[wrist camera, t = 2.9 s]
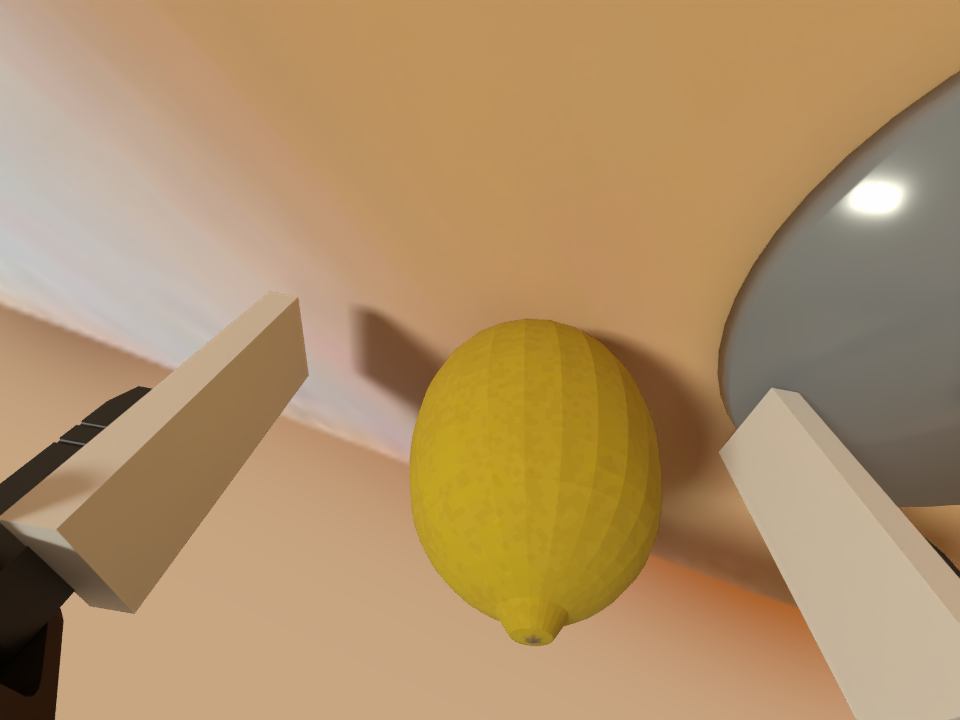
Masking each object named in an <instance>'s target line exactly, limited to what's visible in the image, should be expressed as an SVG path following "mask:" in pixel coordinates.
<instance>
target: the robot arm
mask: <svg viewBox="0 0 960 720" xmlns="http://www.w3.org/2000/svg"><path fill="white" fill-rule="evenodd" d="M308 376H309V374H308V367H307V359H306V352H305V344H304V337H303V329H302V322H301V314H300V307H299V299H298V297H297V296H292V295H286V294H281V293H276V292H271V291H270V292H268V293H267V294H266V295H265V296H264V297H262V298H261V299H260V300H259V301H258V302H256V303H255V304H254V305H253V306H252V307H250V308H249V309H248V310H247V311H246V312H244V313H243V314H242V315H241V316H240V317H238V318H237V319H236V320H235V321H234V322H232V323H231V324H230V325H229V326H228V327H226V328H225V329H224V330H223V331H222V332H220V333H219V334H218V335H217V336H216V337H214V338H213V339H212V340H211V341H210V342H208V343H207V344H206V345H205V346H204V347H202V348H201V349H200V350H199V351H198V352H196V353H195V354H194V355H193V356H192V357H190V358H189V359H188V360H187V361H186V362H184V363H183V364H182V365H181V366H180V367H178V368H177V369H176V370H175V371H174V372H172V373H171V374H170V375H169V376H168V377H166V378H165V379H164V380H163V381H162V382H160V383H159V384H158V385H157V386H156V387H154V388H153V389H151V388H146V387H140V386H138V387H136V388H134V389H132V390H130V391H128V392H126V393H123V394H122V395H119V396H117V397H115V398H113V399H111V400H109V401H107V402H106V403H104V404H103V405H102V406H100V407H99V408H98V409H97V410H95V411H94V412H93V413H91V414H90V415H89V416H87V417H86V418H85V419H84V420H82V423H81V425H76V426H74V427H73V428H72V429H71V430H69V431H68V432H67V433H65V434H64V435H63V436H61V437H60V441H59V442H58V443H55V442H54V443H52V444H51V445H50V446H49V447H47V448H46V449H45V450H43V451H42V452H41V453H39V454H38V455H37V456H36V457H34V458H33V459H32V460H31V461H29V462H28V463H26V464H25V465H24V466H23V467H21V468H20V469H19V470H17V471H16V472H15V473H14V474H12V475H11V476H10V477H8V478H7V479H6V480H5V481H3V482H2V483H1V484H0V720H55V711H56V699H57V689H58V688H57V687H58V677H59V666H60V655H61V643H62V632H63V617H62V612H61V609H60V607H61V606H62V605H63V604H64V602H65V601H66V600H67V599H68V598H69V597H70V596H71V594H72V593H73V592H75V593H77V594H78V595H79V596H80V597H81V598H82V599H83V600H84V601H85V602H86V603H87V604H88V605H89V606H93V607H98V608H104V609H110V610H115V611H121V612H127V613H133V614H135V612H136V611H137V610H138V608H139V607H140V606H141V604H142V603H143V601H144V600H145V599H146V597H147V596H148V595H149V593H150V592H151V590H152V589H153V588H154V586H155V585H156V584H157V582H158V581H159V579H160V578H161V577H162V575H163V574H164V573H165V571H166V570H167V569H168V567H169V566H170V564H171V563H172V561H173V560H174V559H175V557H176V556H177V555H178V553H179V552H180V551H181V549H182V548H183V546H184V545H185V544H186V543H187V541H188V540H189V538H190V537H191V536H192V534H193V533H194V532H195V530H196V529H197V527H198V526H199V525H200V523H201V522H202V521H203V519H204V518H205V517H206V515H207V514H208V512H209V511H210V509H211V508H212V507H213V506H214V504H215V503H216V501H217V500H218V499H219V497H220V496H221V495H222V493H223V492H224V490H225V489H226V488H227V486H228V485H229V484H230V482H231V481H232V480H233V478H234V477H235V475H236V474H237V473H238V471H239V470H240V468H241V467H242V466H243V464H244V463H245V462H246V460H247V459H248V458H249V456H250V455H251V454H252V452H253V451H254V449H255V448H256V447H257V445H258V444H259V443H260V441H261V440H262V438H263V437H264V436H265V434H266V433H267V432H268V430H269V429H270V428H271V426H272V425H273V423H274V422H275V421H276V419H277V418H278V417H279V415H280V414H281V412H282V411H283V410H284V408H285V407H286V406H287V404H288V403H289V402H290V400H291V399H292V397H293V396H294V395H295V393H296V392H297V391H298V389H299V388H300V386H301V385H302V384H303V382H304V381H305V380H306V378H307V377H308ZM719 454H720V456H721V458H722V460H723V462H724V464H725V466H726V468H727V470H728V472H729V474H730V476H731V477H732V479H733V481H734V483H735V485H736V487H737V489H738V491H739V493H740V495H741V497H742V499H743V501H744V503H745V505H746V507H747V509H748V510H749V512H750V514H751V516H752V518H753V520H754V522H755V524H756V526H757V528H758V530H759V532H760V534H761V536H762V538H763V540H764V542H765V543H766V545H767V547H768V549H769V551H770V553H771V555H772V557H773V559H774V561H775V563H776V565H777V567H778V569H779V571H780V573H781V575H782V576H783V578H784V580H785V582H786V584H787V586H788V588H789V590H790V592H791V594H792V596H793V598H794V600H795V602H796V604H797V606H798V608H799V609H800V611H801V613H802V615H803V617H804V619H805V621H806V623H807V625H808V627H809V629H810V631H811V633H812V635H813V636H814V639H815V641H816V642H817V644H818V646H819V648H820V650H821V652H822V654H823V656H824V658H825V660H826V662H827V664H828V666H829V668H830V669H831V672H832V673H833V675H834V677H835V679H836V681H837V683H838V685H839V687H840V689H841V691H842V693H843V695H844V697H845V699H846V701H847V703H848V705H849V707H850V708H851V710H852V712H853V714H854V716H855V718H856V720H960V571H959V570H958V569H957V568H956V567H955V566H954V565H953V563H952V562H951V561H950V560H949V559H948V558H947V557H946V555H945V554H944V553H942V552H941V551H940V550H939V549H938V548H937V547H935V546H934V545H933V544H932V543H931V542H929V541H928V540H927V539H926V538H925V537H924V536H922V535H921V533H920V532H919V531H918V530H917V529H916V528H915V526H914V525H913V524H912V523H911V522H910V521H909V520H908V518H907V517H906V516H905V515H904V514H903V513H902V511H901V510H900V509H899V508H898V507H897V506H896V505H895V503H894V502H893V501H892V500H891V499H890V498H889V496H888V495H887V494H886V493H885V492H884V491H883V490H882V488H881V487H880V486H879V485H878V484H877V483H876V481H875V480H874V479H873V478H872V477H871V476H870V475H869V473H868V472H867V471H866V470H865V469H864V468H863V466H862V465H861V464H860V463H859V462H858V461H857V460H856V458H855V457H854V456H853V455H852V454H851V453H850V451H849V450H848V449H847V448H846V447H845V446H844V445H843V443H842V442H841V441H840V440H839V439H838V438H837V437H836V435H835V434H834V433H833V432H832V431H831V430H830V428H829V427H828V426H827V425H826V424H825V423H824V422H823V420H822V419H821V418H820V417H819V416H818V415H817V413H816V412H815V411H814V410H813V409H812V408H811V407H810V405H809V404H808V403H807V402H806V401H805V400H804V398H803V397H802V396H801V395H800V394H799V393H797V392H792V391H787V390H782V389H777V388H771V389H770V390H769V391H768V393H767V394H766V395H765V396H764V397H763V399H762V400H761V401H760V402H759V404H758V405H757V406H756V407H755V408H754V410H753V411H752V412H751V413H750V415H749V416H748V417H747V418H746V419H745V421H744V422H743V423H742V424H741V426H740V427H739V428H738V429H737V430H736V432H735V433H734V434H733V435H732V437H731V438H730V439H729V440H728V441H727V443H726V444H725V445H724V446H723V447H722V449H721V450H720V451H719Z"/></svg>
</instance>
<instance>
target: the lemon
mask: <svg viewBox="0 0 960 720" xmlns="http://www.w3.org/2000/svg"><path fill="white" fill-rule="evenodd" d="M410 490H411V506H412V514H413V519H414V525H415V528H416V531H417V534H418V536H419V539H420V542H421V544H422V546H423V548H424V550H425V552H426V554H427V556H428V558H429V559H430V561H431V563H432V565H433V566H434V568H435V570H436V571H437V572H438V573H439V574H440V576H441V577H442V578H443V580H444V581H445V582H446V583H447V584H448V585H449V586H450V587H451V588H452V589H453V590H454V591H455V592H456V593H457V594H458V595H459V596H460V597H461V598H462V599H463V600H465V601H466V602H467V603H468V604H469V605H471V606H473V607H474V608H476V609H477V610H479V611H480V612H482V613H484V614H486V615H488V616H490V617H492V618H494V619H496V620H499V621H500V622H501V623H502V625H503V627H504V628H505V630H506V631H507V633H508V634H509V636H510V637H511V639H512V640H514V641H515V642H518V643H520V644H524V645H530V646H541V645H547V644H549V643H551V642H552V641H553V640H554V639H555V637H556V636H557V635H558V633H559V632H560V630H561V629H562V627H563V626H566V625H570V624H573V623H576V622H579V621H581V620H584V619H587V618H589V617H591V616H593V615H595V614H597V613H598V612H600V611H601V610H603V609H604V608H606V607H607V606H609V605H610V604H611V603H613V602H614V601H615V600H616V599H617V598H618V597H619V596H620V595H621V594H622V593H623V592H624V591H625V590H626V589H627V588H628V587H629V585H630V584H631V583H632V582H633V581H634V580H635V579H636V578H637V576H638V575H639V573H640V572H641V570H642V569H643V567H644V566H645V564H646V561H647V559H648V556H649V554H650V551H651V548H652V546H653V543H654V541H655V538H656V536H657V533H658V528H659V523H660V518H661V507H662V481H661V469H660V458H659V447H658V441H657V436H656V431H655V427H654V424H653V420H652V417H651V415H650V412H649V410H648V407H647V405H646V403H645V401H644V399H643V397H642V395H641V393H640V391H639V389H638V387H637V385H636V383H635V382H634V380H633V378H632V376H631V375H630V373H629V372H628V370H627V369H626V368H625V366H624V365H623V364H622V363H621V362H620V361H619V360H618V359H617V358H616V357H615V356H614V355H613V354H612V353H611V352H610V351H609V350H608V349H607V348H606V347H605V346H604V345H603V344H602V343H601V342H599V341H598V340H596V339H595V338H593V337H591V336H589V335H588V334H586V333H584V332H582V331H580V330H579V329H577V328H575V327H572V326H568V325H565V324H561V323H558V322H554V321H551V320H538V319H522V320H516V321H510V322H504V323H500V324H498V325H495V326H493V327H490V328H488V329H486V330H483V331H481V332H479V333H477V334H476V335H475V336H473V337H472V338H471V339H469V340H468V341H466V342H465V343H464V344H462V345H461V346H460V347H458V348H457V349H456V350H455V351H454V352H453V353H452V354H451V355H450V356H449V358H448V359H447V360H446V362H445V363H444V364H443V366H442V367H441V368H440V370H439V371H438V372H437V374H436V375H435V377H434V378H433V380H432V381H431V383H430V385H429V387H428V389H427V391H426V394H425V397H424V399H423V402H422V405H421V408H420V411H419V414H418V417H417V420H416V424H415V428H414V432H413V437H412V443H411V453H410Z"/></svg>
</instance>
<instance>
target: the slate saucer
mask: <svg viewBox="0 0 960 720" xmlns="http://www.w3.org/2000/svg"><path fill="white" fill-rule="evenodd" d="M718 381H719V388H720V395H721V398H722V401H723V403H724V406H725V409H726V412H727V414H728V416H729V417H730V419H731V421H732V423H733V424H734V426H735V428H736V429H738V428H739V427H740V426H741V424H742V423H743V422H744V421H745V419H746V418H747V417H748V416H749V415H750V413H751V412H752V411H753V410H754V408H755V407H756V406H757V405H758V404H759V402H760V401H761V400H762V399H763V397H764V396H765V395H766V394H767V393H768V391H769V390H770V389H771V388H777V389H782V390H787V391H792V392H797V393H799V394H800V395H801V396H802V397H803V398H804V400H805V401H806V402H807V403H808V404H809V405H810V407H811V408H812V409H813V410H814V411H815V412H816V413H817V415H818V416H819V417H820V418H821V419H822V420H823V422H824V423H825V424H826V425H827V426H828V427H829V428H830V430H831V431H832V432H833V433H834V434H835V435H836V437H837V438H838V439H839V440H840V441H841V442H842V443H843V445H844V446H845V447H846V448H847V449H848V450H849V451H850V453H851V454H852V455H853V456H854V457H855V458H856V460H857V461H858V462H859V463H860V464H861V465H862V466H863V468H864V469H865V470H866V471H867V472H868V473H869V475H870V476H871V477H872V478H873V479H874V480H875V481H876V483H877V484H878V485H879V486H880V487H881V488H882V490H883V491H884V492H885V493H886V494H887V495H888V496H889V498H890V499H891V500H892V501H893V502H894V503H895V505H896V506H897V507H925V506H945V505H960V71H959V72H958V73H956V74H954V75H953V76H951V77H950V78H948V79H947V80H945V81H944V82H943V83H941V84H940V85H938V86H937V87H936V88H934V89H933V90H931V91H930V92H929V93H927V94H926V95H924V96H923V97H921V98H920V99H919V100H917V101H916V102H914V103H913V104H912V105H910V106H909V107H907V108H906V109H905V110H903V111H902V112H900V113H899V114H898V115H896V116H895V117H894V118H892V119H891V120H890V121H889V122H888V123H886V124H885V125H884V126H883V127H882V128H880V129H879V130H878V131H877V132H876V133H874V134H873V135H872V136H871V137H870V138H868V139H867V140H866V141H865V142H864V143H862V144H861V145H860V146H859V147H858V148H856V149H855V150H854V151H853V152H852V153H850V154H849V155H848V156H847V157H846V158H845V159H844V160H843V161H842V162H841V163H840V164H839V165H838V166H837V167H836V168H835V169H834V170H833V171H832V172H831V173H830V174H829V175H828V176H827V177H826V178H825V179H823V180H822V181H821V182H820V183H819V184H818V185H817V186H816V187H815V188H814V189H813V190H812V191H811V192H810V193H809V194H808V195H807V196H806V198H805V199H804V200H803V201H802V202H801V204H800V205H799V206H798V207H797V208H796V209H795V211H794V212H793V213H792V214H791V215H790V216H789V218H788V219H787V220H786V221H785V222H784V223H783V225H782V226H781V227H780V228H779V229H778V230H777V232H776V233H775V235H774V236H773V237H772V239H771V240H770V242H769V243H768V245H767V246H766V247H765V249H764V250H763V252H762V253H761V255H760V256H759V257H758V259H757V260H756V262H755V263H754V265H753V266H752V268H751V270H750V272H749V274H748V275H747V277H746V279H745V281H744V283H743V285H742V286H741V288H740V290H739V292H738V294H737V296H736V298H735V300H734V303H733V306H732V308H731V311H730V313H729V316H728V318H727V321H726V323H725V327H724V331H723V335H722V340H721V344H720V348H719V359H718Z"/></svg>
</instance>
